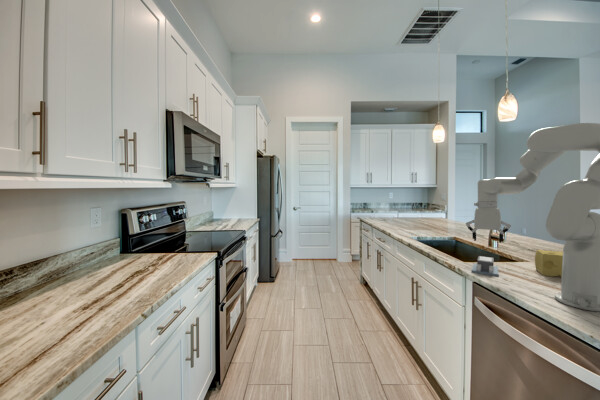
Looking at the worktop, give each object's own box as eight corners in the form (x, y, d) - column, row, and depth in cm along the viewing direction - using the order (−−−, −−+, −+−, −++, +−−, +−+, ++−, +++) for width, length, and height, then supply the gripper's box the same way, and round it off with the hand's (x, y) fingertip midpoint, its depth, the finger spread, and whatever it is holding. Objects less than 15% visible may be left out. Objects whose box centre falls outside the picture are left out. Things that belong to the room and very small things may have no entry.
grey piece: (498, 276, 115) (498, 267, 115) (471, 272, 121) (471, 263, 121) (498, 268, 126) (498, 260, 126) (473, 264, 132) (473, 257, 132)
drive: (493, 272, 118) (493, 262, 117) (477, 269, 121) (477, 260, 121) (493, 266, 125) (493, 257, 125) (478, 264, 129) (478, 255, 129)
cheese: (573, 279, 111) (575, 256, 110) (540, 275, 116) (541, 253, 116) (564, 272, 120) (565, 251, 120) (534, 269, 125) (534, 248, 125)
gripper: (464, 205, 124) (465, 240, 124) (511, 205, 114) (511, 244, 114) (466, 205, 130) (466, 238, 130) (510, 205, 120) (510, 242, 120)
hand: (487, 241), depth 122 cm, fingers open, 9 cm apart
